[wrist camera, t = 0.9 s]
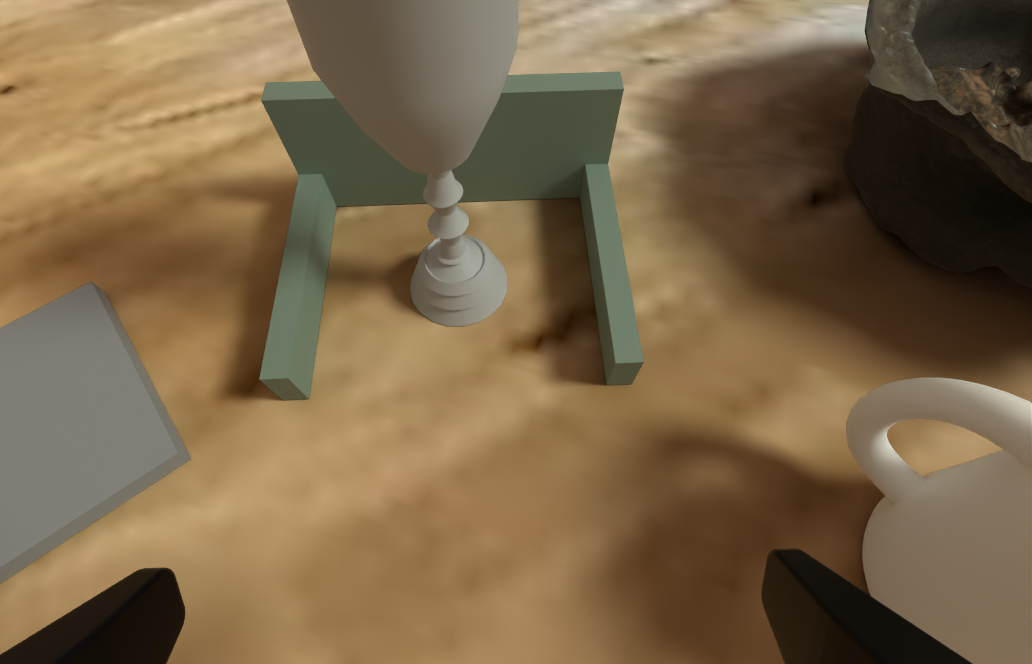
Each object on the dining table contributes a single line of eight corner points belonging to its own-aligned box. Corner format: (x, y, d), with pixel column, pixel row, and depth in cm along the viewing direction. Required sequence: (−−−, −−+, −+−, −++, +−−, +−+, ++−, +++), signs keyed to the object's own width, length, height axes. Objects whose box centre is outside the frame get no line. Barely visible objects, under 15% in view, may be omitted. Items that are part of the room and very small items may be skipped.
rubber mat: (191, 458, 23) (177, 452, 22) (-92, 643, 19) (-122, 644, 18) (105, 291, 27) (90, 281, 26) (-142, 421, 23) (-168, 414, 22)
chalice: (448, 372, 25) (324, -57, 9) (362, 285, 27) (137, -183, 11) (555, 281, 27) (614, -187, 11) (468, 209, 29) (411, -268, 13)
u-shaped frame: (631, 384, 24) (672, 308, 18) (282, 400, 24) (201, 329, 18) (598, 181, 30) (619, 71, 24) (317, 191, 30) (265, 82, 24)
